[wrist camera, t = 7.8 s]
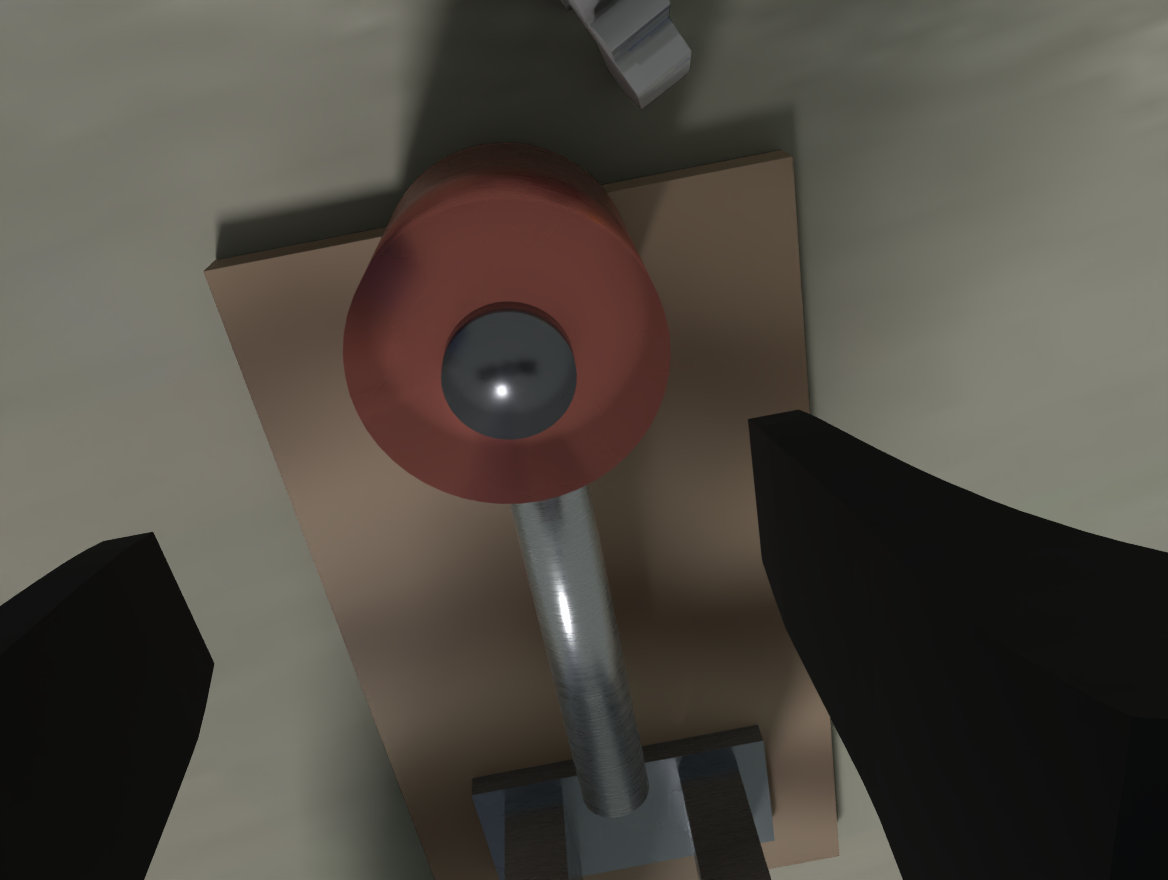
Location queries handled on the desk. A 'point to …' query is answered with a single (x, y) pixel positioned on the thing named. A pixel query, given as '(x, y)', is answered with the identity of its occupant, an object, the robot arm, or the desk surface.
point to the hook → (522, 396)
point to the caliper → (636, 44)
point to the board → (622, 508)
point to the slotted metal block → (636, 814)
